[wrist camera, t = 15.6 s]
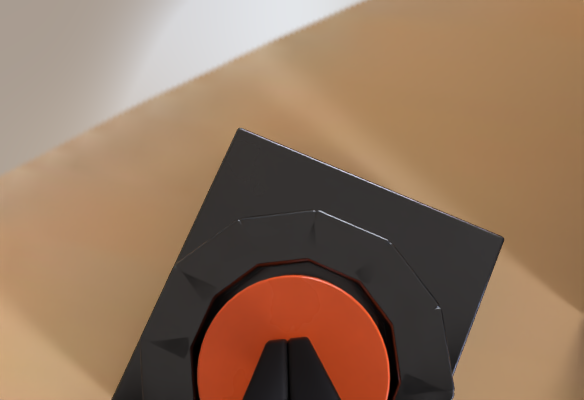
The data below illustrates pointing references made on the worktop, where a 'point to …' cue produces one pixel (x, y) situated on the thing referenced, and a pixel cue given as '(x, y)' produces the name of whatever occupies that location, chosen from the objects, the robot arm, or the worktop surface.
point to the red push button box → (318, 268)
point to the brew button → (290, 324)
